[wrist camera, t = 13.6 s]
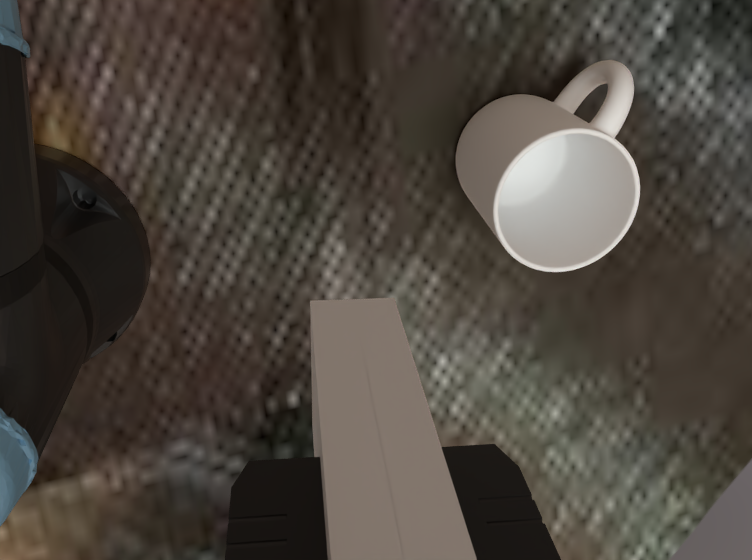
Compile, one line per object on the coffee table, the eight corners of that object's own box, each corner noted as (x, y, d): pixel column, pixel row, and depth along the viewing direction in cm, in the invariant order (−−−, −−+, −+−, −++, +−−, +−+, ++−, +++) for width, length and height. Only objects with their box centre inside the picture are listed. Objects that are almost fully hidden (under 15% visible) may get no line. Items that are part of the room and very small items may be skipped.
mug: (538, 13, 44) (606, 33, 35) (632, 86, 47) (718, 122, 38) (428, 172, 48) (463, 228, 39) (521, 231, 51) (575, 296, 41)
